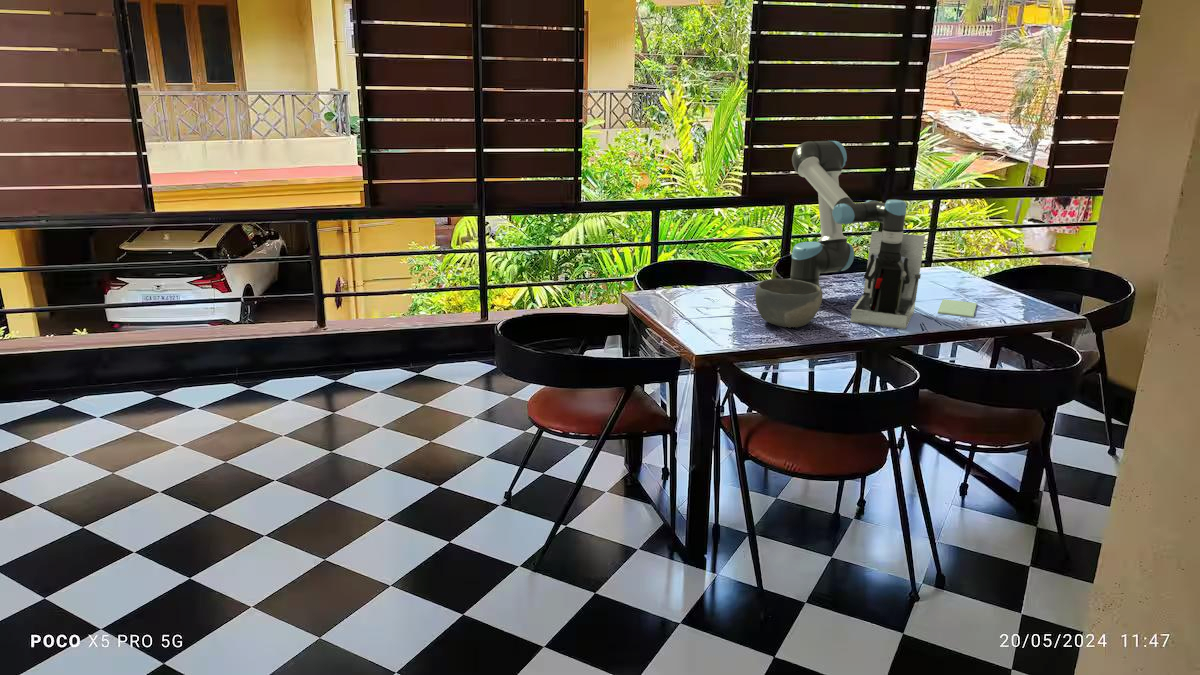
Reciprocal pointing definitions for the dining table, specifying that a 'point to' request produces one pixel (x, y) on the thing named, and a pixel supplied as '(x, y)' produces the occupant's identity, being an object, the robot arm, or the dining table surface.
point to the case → (913, 251)
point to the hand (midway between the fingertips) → (884, 298)
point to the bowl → (788, 301)
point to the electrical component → (887, 288)
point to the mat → (957, 308)
